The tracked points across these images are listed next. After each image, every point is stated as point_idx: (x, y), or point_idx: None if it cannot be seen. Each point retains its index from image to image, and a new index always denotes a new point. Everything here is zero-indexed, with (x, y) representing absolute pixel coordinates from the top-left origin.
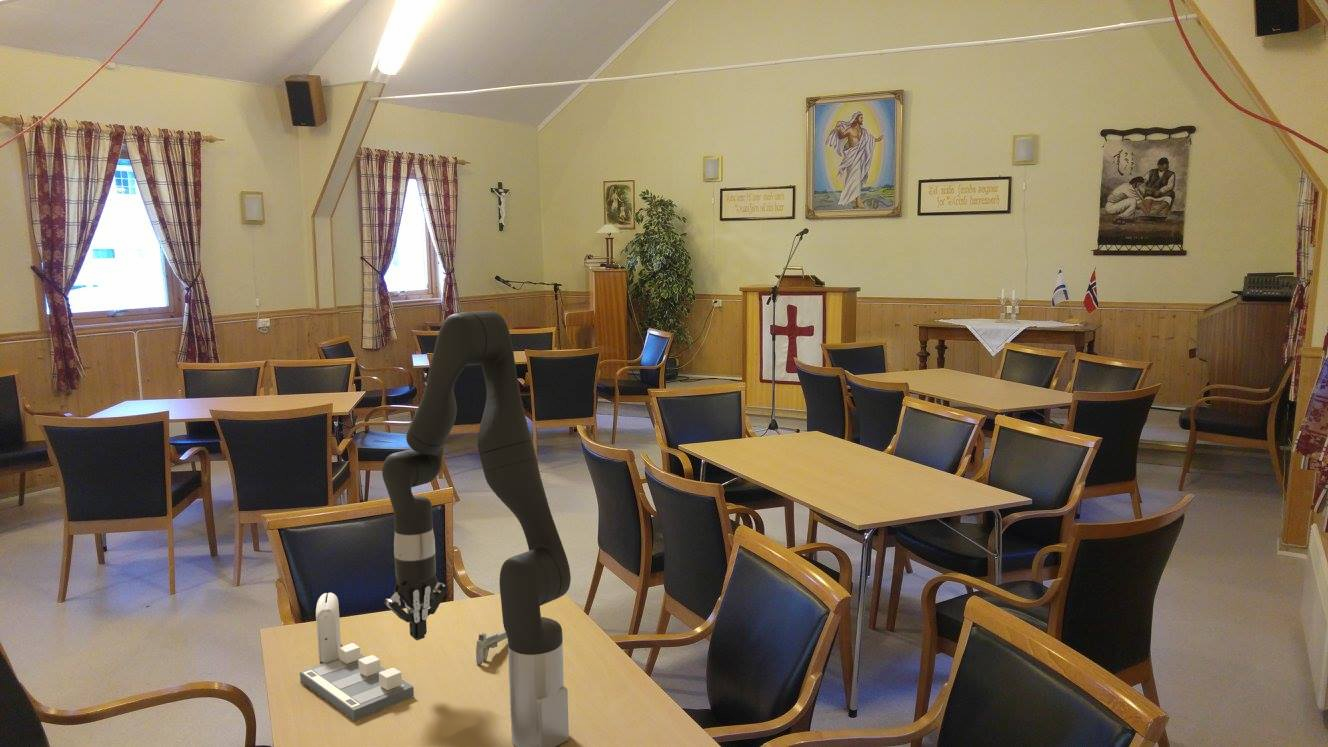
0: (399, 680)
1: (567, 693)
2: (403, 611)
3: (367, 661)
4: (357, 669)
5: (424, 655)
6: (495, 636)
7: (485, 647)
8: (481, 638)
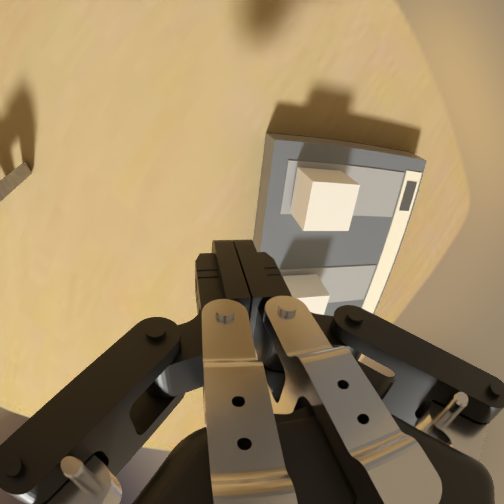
0: (310, 173)
1: None
2: (415, 360)
3: (315, 306)
4: None
5: (117, 307)
6: None
7: None
8: None
